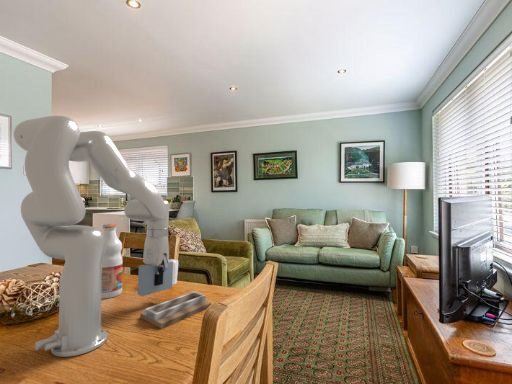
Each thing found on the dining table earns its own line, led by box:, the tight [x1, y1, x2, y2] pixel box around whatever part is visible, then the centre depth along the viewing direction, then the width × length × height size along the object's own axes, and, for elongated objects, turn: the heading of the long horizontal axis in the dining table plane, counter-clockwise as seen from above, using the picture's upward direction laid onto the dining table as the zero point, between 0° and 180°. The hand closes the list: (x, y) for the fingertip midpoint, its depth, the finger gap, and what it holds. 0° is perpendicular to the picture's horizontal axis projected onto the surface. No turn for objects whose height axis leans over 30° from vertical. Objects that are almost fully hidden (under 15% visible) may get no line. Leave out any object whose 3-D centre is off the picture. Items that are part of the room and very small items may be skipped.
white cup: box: [169, 258, 179, 286], centre depth 122 cm, size 8×8×10 cm
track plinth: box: [139, 291, 212, 330], centre depth 92 cm, size 20×12×4 cm, turn 142°
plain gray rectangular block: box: [137, 261, 173, 297], centre depth 99 cm, size 12×3×10 cm, turn 142°
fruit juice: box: [101, 223, 123, 299], centre depth 108 cm, size 9×9×28 cm
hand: (155, 283), depth 98 cm, fingers closed on plain gray rectangular block, 3 cm apart
